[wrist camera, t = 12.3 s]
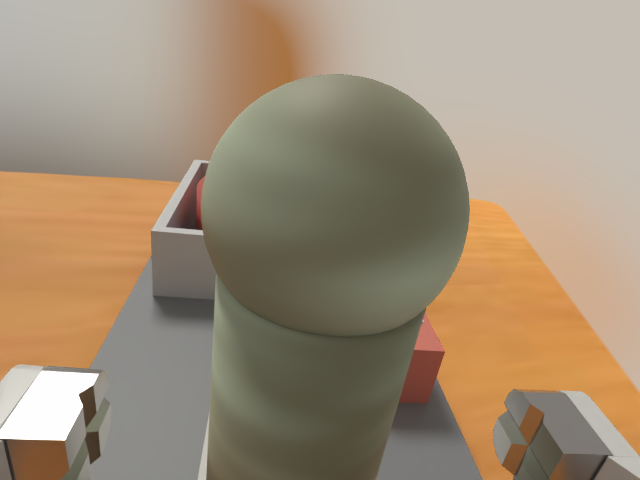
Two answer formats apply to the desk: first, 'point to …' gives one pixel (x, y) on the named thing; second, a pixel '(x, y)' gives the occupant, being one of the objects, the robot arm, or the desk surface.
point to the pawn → (323, 273)
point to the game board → (196, 363)
